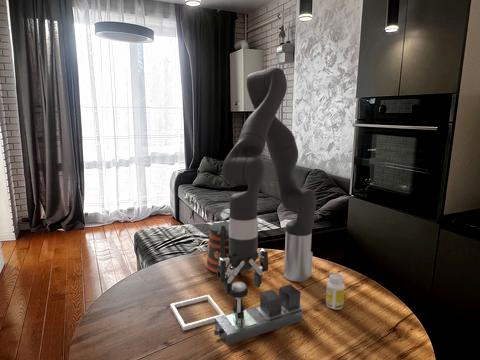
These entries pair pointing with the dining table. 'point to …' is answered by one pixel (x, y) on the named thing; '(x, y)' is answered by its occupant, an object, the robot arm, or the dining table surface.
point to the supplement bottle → (335, 292)
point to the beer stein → (218, 245)
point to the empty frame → (200, 322)
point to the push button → (239, 300)
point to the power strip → (262, 315)
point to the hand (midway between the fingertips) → (243, 290)
